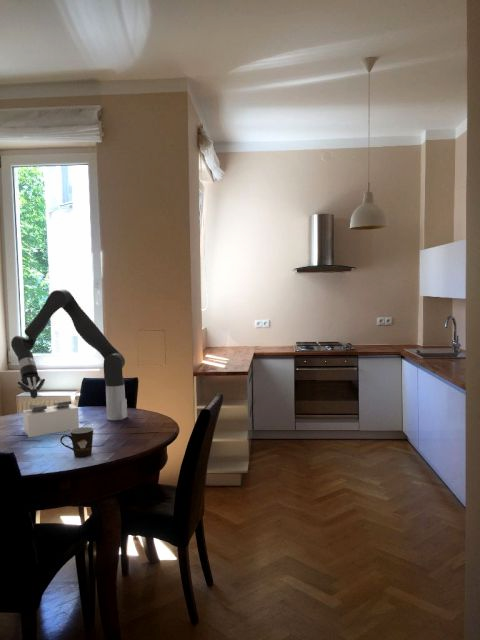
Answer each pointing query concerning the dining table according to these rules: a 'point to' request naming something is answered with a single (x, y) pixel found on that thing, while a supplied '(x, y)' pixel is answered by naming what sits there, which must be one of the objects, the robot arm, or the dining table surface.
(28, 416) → the switch box
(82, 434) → the coffee mug
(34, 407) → the rocker outer
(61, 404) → the block
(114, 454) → the dining table surface
